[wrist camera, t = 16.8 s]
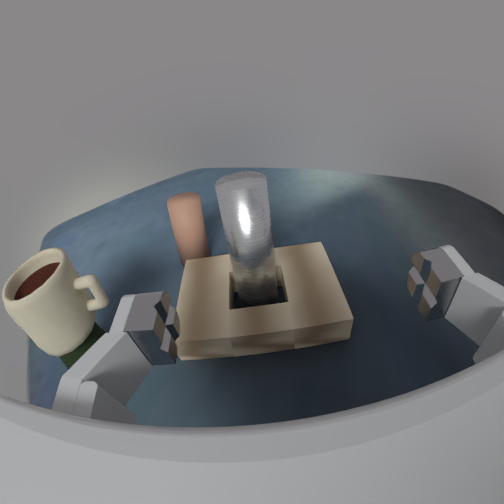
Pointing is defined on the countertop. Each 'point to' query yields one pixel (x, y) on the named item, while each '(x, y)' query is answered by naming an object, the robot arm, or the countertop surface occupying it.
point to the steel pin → (249, 236)
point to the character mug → (55, 304)
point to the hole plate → (261, 307)
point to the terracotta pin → (188, 226)
